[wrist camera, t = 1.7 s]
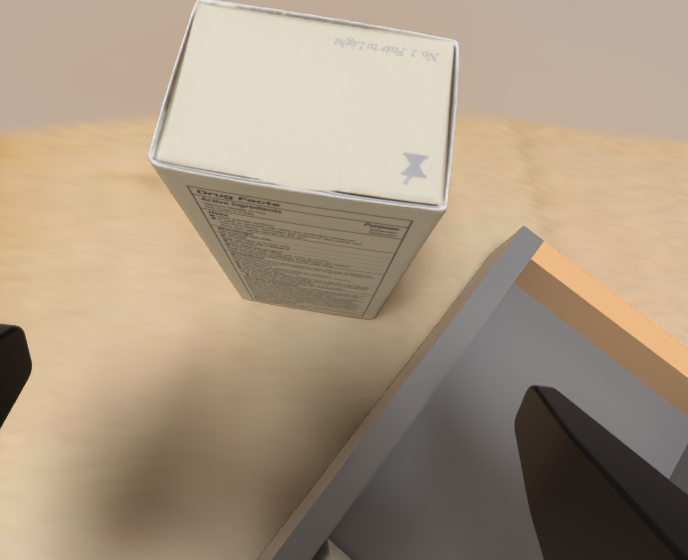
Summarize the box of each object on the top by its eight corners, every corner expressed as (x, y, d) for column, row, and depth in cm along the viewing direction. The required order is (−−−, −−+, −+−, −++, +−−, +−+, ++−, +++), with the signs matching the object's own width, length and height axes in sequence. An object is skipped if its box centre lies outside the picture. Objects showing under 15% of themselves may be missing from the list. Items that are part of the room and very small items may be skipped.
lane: (709, 420, 21) (861, 423, 15) (485, 842, 16) (584, 1076, 11) (490, 254, 22) (555, 198, 17) (226, 599, 18) (189, 688, 12)
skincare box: (385, 233, 22) (474, 35, 11) (373, 326, 21) (459, 216, 9) (252, 211, 22) (194, -17, 10) (232, 303, 21) (140, 161, 9)
